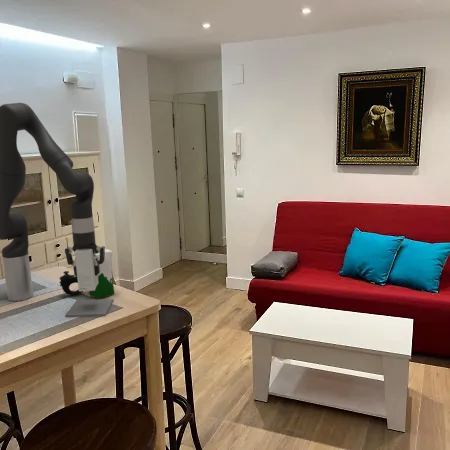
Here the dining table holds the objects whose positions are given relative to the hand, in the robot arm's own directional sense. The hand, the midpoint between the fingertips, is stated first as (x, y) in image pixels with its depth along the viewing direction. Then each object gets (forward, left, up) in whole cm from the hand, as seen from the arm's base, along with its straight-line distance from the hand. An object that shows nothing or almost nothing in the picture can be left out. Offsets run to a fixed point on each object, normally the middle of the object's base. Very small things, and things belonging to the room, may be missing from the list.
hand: (87, 275), depth 163 cm
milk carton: (-14, +1, -13) cm, 19 cm away
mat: (0, 0, -13) cm, 13 cm away
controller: (-15, -9, -13) cm, 22 cm away
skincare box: (0, 0, -5) cm, 5 cm away
